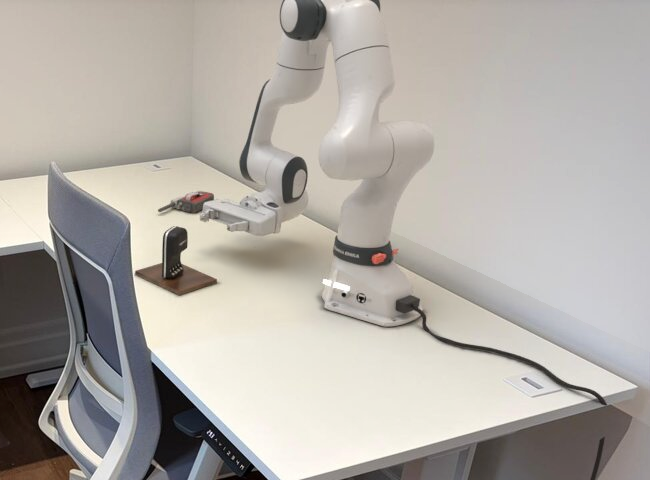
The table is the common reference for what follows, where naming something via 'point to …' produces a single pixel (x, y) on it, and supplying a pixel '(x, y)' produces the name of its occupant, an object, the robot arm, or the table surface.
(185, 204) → the walkie-talkie
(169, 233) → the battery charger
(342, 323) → the table surface
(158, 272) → the board
